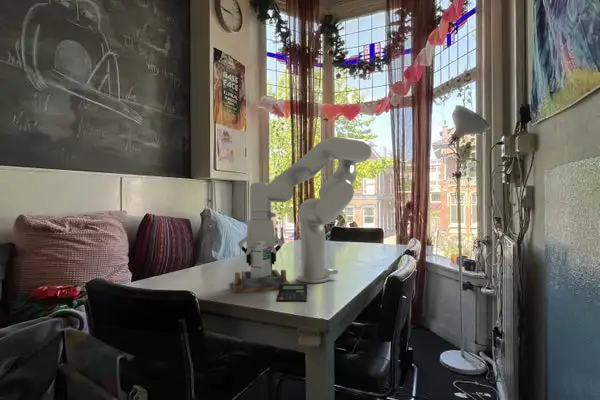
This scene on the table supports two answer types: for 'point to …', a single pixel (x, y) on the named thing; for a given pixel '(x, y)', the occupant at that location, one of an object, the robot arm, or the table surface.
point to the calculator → (292, 293)
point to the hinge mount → (258, 282)
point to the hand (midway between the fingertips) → (261, 264)
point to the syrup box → (261, 261)
